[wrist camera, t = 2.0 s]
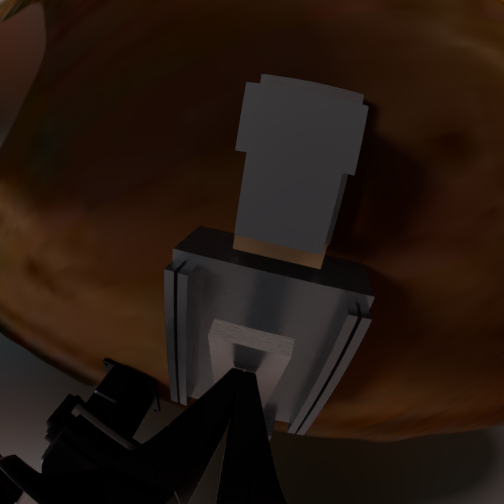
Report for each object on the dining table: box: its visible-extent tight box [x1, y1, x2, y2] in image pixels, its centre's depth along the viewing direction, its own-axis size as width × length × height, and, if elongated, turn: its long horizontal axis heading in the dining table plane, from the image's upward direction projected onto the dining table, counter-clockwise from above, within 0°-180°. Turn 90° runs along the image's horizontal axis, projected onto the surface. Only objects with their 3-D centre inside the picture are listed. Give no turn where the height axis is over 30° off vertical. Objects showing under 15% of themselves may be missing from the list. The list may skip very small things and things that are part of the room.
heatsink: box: [164, 226, 375, 441], centre depth 16 cm, size 15×10×5 cm, turn 171°
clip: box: [234, 82, 369, 255], centre depth 11 cm, size 5×4×4 cm
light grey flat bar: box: [208, 319, 295, 408], centre depth 12 cm, size 14×2×1 cm, turn 171°
